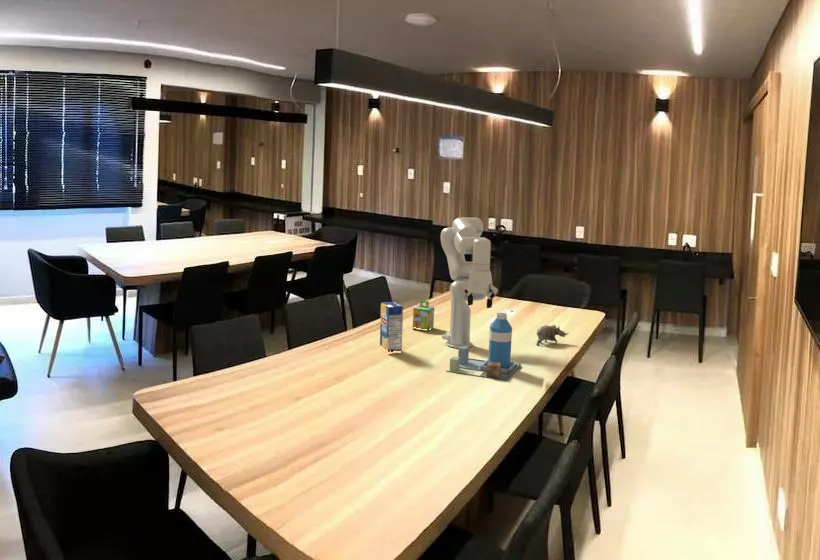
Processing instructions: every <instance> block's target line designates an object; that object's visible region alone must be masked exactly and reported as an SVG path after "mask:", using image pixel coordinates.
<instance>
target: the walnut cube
mask: <svg viewBox="0 0 820 560" xmlns="http://www.w3.org/2000/svg"><path fill="white" fill-rule="evenodd" d="M500 366H501V363H498V362H488V364H487V376H486V377H493V378H499V376H500Z"/></svg>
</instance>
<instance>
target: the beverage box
mask: <svg viewBox="0 0 820 560" xmlns="http://www.w3.org/2000/svg"><path fill="white" fill-rule="evenodd" d="M403 313H404V306H403V305H401V304H399V303H398V302H397V301H383V302H380V324H379V325H380V328H379V330H380V331H379V334H380V335H379V337H380V338H379V346H380V345H381V346H382V347H383V348H384V349H385V350H387V351H388V352H390V351H391V352H393V351H402V350H403V320H404V319H403V315H404V314H403ZM402 352H403V351H402Z"/></svg>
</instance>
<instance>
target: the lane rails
mask: <svg viewBox="0 0 820 560" xmlns="http://www.w3.org/2000/svg"><path fill="white" fill-rule="evenodd" d="M468 360H475V361H482V362H485V361H486V360H483V359H477V358H470V357H468ZM521 367H522V363H517V366H516V367H515V368H514V369H513V370H512V371H511V372H510V373H509V374H503V373H500V376H499V378H493V377H486V376H487V371H484V370H477V369H470V368H464V367H460V368H461V369H468V370H475V371H476V372H481V374H479V375H478V374H473V375H472V374H465V373H459V372H453V371H449V370H446V371H445V372H447V373H452V374H458V375H464V376H470V377H471V376H473V377H479V378H484V379H491V380H497V381H498V380H499V381H504V382H507V381H508V380H510V378H511V377H512V376H514V374H515V373H516V372H517V371H518V370H519V369H520V368H521Z"/></svg>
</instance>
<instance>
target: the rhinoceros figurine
mask: <svg viewBox="0 0 820 560" xmlns="http://www.w3.org/2000/svg"><path fill="white" fill-rule="evenodd" d="M560 327H561V326H560V325H558V327H557V325H555V324H552V325H546V324H545V325H543V326H540V327H538V328H537V330H536V336H537V337H538V339H537V342H536V344H535V345H536V346H538V347H540V346H539V345H540V344H543V343H542V342H544V343H547V342H548V341H549V342H550V341H551V342H554V344H555V343H557V344H558V340H557V338H556V336H559V337H563V338H565V337H566V336H567V335H569V333H570V332H565V331H564V330H561V329H560Z"/></svg>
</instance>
